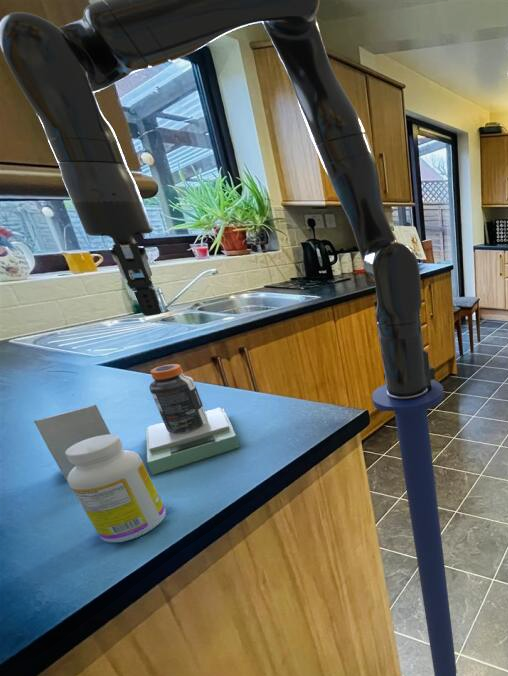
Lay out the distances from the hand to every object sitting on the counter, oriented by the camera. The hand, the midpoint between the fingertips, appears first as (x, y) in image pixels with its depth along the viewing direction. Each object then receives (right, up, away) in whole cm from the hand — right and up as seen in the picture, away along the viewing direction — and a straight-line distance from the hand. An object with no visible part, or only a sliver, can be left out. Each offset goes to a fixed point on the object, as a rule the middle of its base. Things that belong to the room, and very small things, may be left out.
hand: (152, 310), depth 64 cm
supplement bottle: (+8, -31, -11) cm, 34 cm away
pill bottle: (0, -20, +7) cm, 21 cm away
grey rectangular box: (-11, -26, +1) cm, 28 cm away
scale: (+1, -23, +7) cm, 24 cm away
